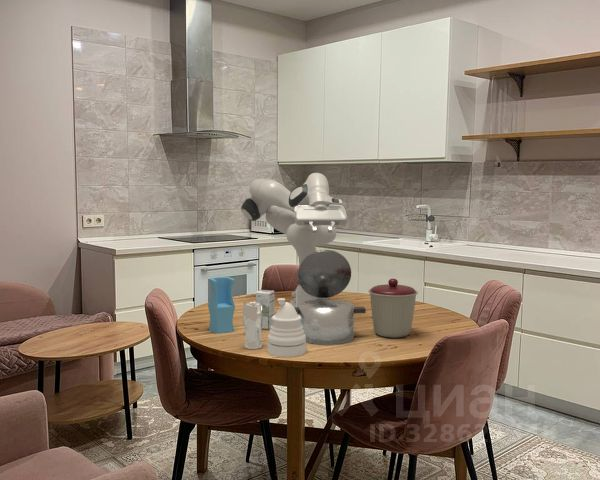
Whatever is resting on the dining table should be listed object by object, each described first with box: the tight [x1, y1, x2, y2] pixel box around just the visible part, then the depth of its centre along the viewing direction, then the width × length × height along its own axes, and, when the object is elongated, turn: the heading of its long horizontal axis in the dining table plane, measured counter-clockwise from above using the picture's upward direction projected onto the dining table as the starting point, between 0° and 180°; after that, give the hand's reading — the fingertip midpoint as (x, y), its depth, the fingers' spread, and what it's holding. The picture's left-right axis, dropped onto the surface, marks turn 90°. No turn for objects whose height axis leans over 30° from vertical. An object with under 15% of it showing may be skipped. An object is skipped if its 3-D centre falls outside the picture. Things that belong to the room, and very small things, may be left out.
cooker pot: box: [294, 297, 366, 346], centre depth 216 cm, size 22×28×12 cm
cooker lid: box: [297, 249, 352, 298], centre depth 221 cm, size 20×20×3 cm
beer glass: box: [242, 301, 263, 350], centre depth 202 cm, size 7×7×15 cm
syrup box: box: [255, 289, 275, 331], centre depth 229 cm, size 6×6×14 cm
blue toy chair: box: [207, 276, 236, 334], centre depth 224 cm, size 8×8×20 cm
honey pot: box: [267, 297, 307, 358], centre depth 197 cm, size 13×13×18 cm
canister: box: [368, 278, 419, 339], centre depth 219 cm, size 18×18×21 cm
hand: (322, 231), depth 227 cm, fingers open, 5 cm apart
